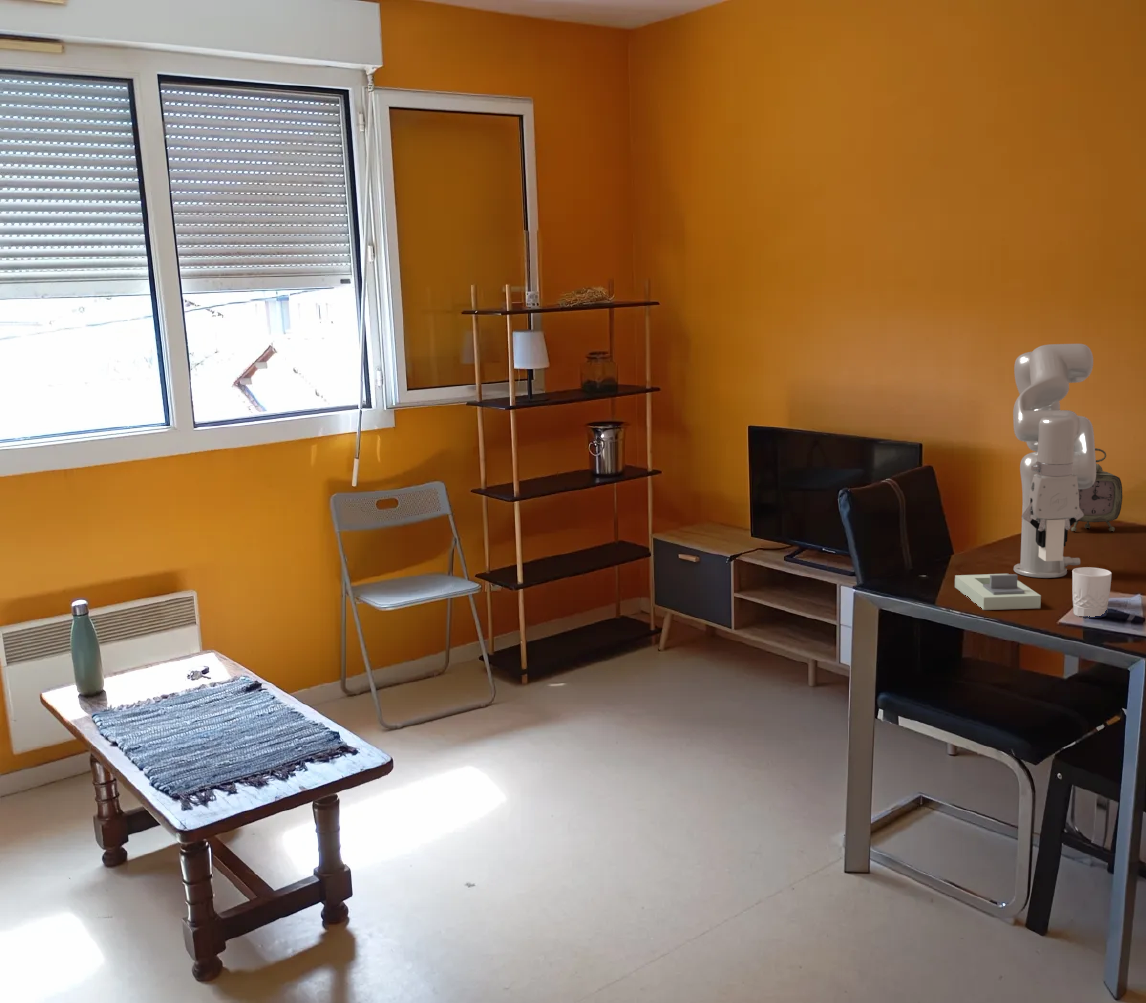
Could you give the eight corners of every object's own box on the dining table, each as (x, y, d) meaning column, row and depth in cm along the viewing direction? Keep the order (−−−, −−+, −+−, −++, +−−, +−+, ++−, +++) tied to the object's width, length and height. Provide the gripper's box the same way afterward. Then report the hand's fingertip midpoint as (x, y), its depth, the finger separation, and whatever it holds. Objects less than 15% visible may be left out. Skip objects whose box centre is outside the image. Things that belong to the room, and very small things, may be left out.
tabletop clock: (1068, 533, 311) (1072, 450, 306) (1059, 527, 320) (1063, 446, 315) (1120, 533, 308) (1125, 449, 304) (1110, 526, 317) (1114, 445, 312)
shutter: (1012, 585, 249) (1013, 570, 248) (1024, 593, 242) (1024, 578, 241) (982, 586, 249) (983, 571, 248) (993, 594, 242) (994, 579, 241)
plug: (1055, 555, 247) (1057, 506, 244) (1062, 560, 243) (1065, 510, 240) (1038, 556, 247) (1040, 507, 244) (1045, 561, 243) (1047, 511, 241)
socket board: (1007, 585, 260) (1007, 573, 259) (1040, 608, 240) (1040, 595, 240) (954, 587, 260) (955, 575, 260) (983, 610, 241) (983, 597, 240)
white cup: (1063, 610, 238) (1065, 568, 236) (1096, 608, 238) (1098, 566, 236) (1082, 621, 230) (1084, 577, 228) (1116, 618, 230) (1119, 574, 229)
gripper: (1024, 474, 237) (1021, 551, 241) (1099, 470, 236) (1094, 548, 240) (1011, 468, 244) (1008, 543, 248) (1084, 464, 244) (1080, 539, 248)
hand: (1051, 544), depth 244 cm, fingers closed on plug, 4 cm apart
